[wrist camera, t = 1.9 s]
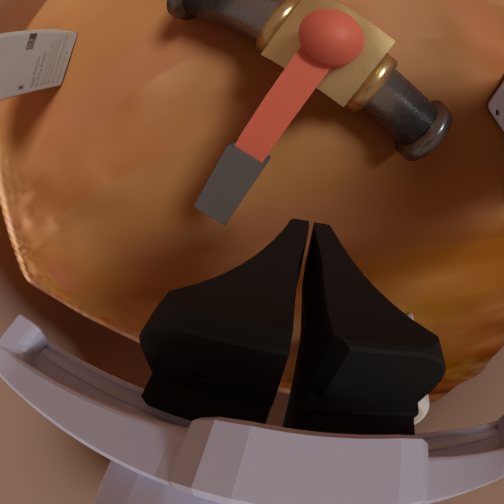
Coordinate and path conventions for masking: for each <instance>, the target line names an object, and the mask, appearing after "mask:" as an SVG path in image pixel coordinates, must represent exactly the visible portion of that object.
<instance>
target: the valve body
mask: <svg viewBox="0 0 504 504" xmlns="http://www.w3.org/2000/svg"><path fill="white" fill-rule="evenodd" d="M324 8H330V9H337V10H340V11H343V12H345V13H347V14H349V15H350V16H351V17H353V18H354V19H355V20H356V21H357V22H358V23H359V25H360V26H361V28H362V30H363V33H364V37H365V43H364V48H363V50H362V52H361V53H360V55H359V56H358V57H357V58H356V59H354V60H353V61H352V62H350V63H349V64H347V65H345V66H343V67H339V68H331V69H330V70H329V71H328V73H327V74H326V75H325V77H324V78H323V79H322V80H321V82H320V83H319V84H318V86H317V87H316V89H318V90H319V91H321V92H322V93H323V94H325V95H326V96H328V97H329V98H331V99H332V100H333V101H335V102H336V103H338V104H339V105H341V106H342V107H344V106H347V107H348V108H349V109H351V110H352V111H353V112H357V111H359V110H360V109H362V108H363V107H364V106H365V105H366V104H367V103H369V102H370V101H371V100H372V98H373V97H374V96H375V95H376V94H377V93H378V92H379V91H380V90H381V88H382V87H383V86H384V85H385V83H386V82H387V81H388V79H389V78H390V77H391V75H392V74H393V72H394V70H395V68H396V66H397V61H396V60H395V59H394V58H393V57H391V56H390V55H389V54H388V53H387V52H388V51H389V49H390V48H391V47H392V46H393V45H394V43H395V41H394V40H393V39H392V38H390V37H389V36H388V35H386V34H385V33H384V32H382V31H381V30H380V29H378V28H377V27H376V26H374V25H373V24H371V23H370V22H369V21H367V20H366V19H364V18H363V17H361V16H360V15H358V14H357V13H355V12H354V11H352V10H350V9H349V8H347V7H346V6H344V5H342V4H340V3H339V2H337V1H335V0H283V1H282V2H281V3H279V5H278V6H277V7H276V8H275V9H274V10H273V11H272V13H271V14H270V15H269V17H268V18H267V20H266V21H265V23H264V24H263V26H262V28H261V30H260V32H259V35H258V37H257V40H256V49H257V50H258V51H260V52H262V53H261V55H262V56H264V57H266V58H267V59H269V60H271V61H272V62H274V63H276V64H278V65H279V66H281V67H283V68H284V69H285V68H286V66H287V65H288V63H289V62H290V61H291V59H292V58H293V57H294V55H295V54H296V53H297V51H298V50H299V48H300V47H301V43H300V40H299V34H298V31H299V26H300V23H301V21H302V20H303V18H304V17H305V16H306V15H308V14H309V13H311V12H313V11H315V10H318V9H324Z"/></svg>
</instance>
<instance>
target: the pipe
mask: <svg viewBox="0 0 504 504" xmlns="http://www.w3.org/2000/svg"><path fill="white" fill-rule="evenodd" d="M282 1H283V0H167V9H168V12H169V13H170V14H171V15H172V16H174V17H177V18H180V19H183V20H191V19H194V18H196V17H197V16H199V17H201V18H204V19H207V20H209V21H212V22H215V23H217V24H220V25H222V26H224V27H227V28H229V29H231V30H234V31H236V32H238V33H240V34H242V35H245V36H247V37H249V38H251V39H253V40H255V41H256V40H257V37H258V35H259V32H260V30H261V28H262V26H263V24H264V23H265V21H266V20H267V18H268V17H269V15H270V14H271V13H272V11H273V10H274V9H275V8H276V7H277V6H278V5H279V3H281V2H282ZM362 109H363V110H364V111H365V112H366V113H368V114H369V115H370V116H371V117H373V118H374V119H375V120H376V121H377V122H378V123H380V124H381V125H382V126H383V127H384V128H385V129H386V130H387V131H389V132H390V133H391V134H392V135H393V136H394V137H395V138H396V142H395V148H396V150H397V151H398V152H399V153H400V154H401V155H402V156H403V157H404V158H405V159H406V160H408V161H415V160H418V159H420V158H422V157H424V156H426V155H427V154H429V153H430V152H431V151H433V150H434V149H435V148H436V147H437V146H438V145H439V144H440V143H441V141H442V140H443V139H444V138H445V136H446V134H447V133H448V131H449V129H450V126H451V123H452V114H451V112H450V111H449V110H448V109H447V107H446V106H445V105H444V104H443V103H442V102H441V101H438V100H435V101H431V102H430V101H429V100H428V99H427V98H426V97H425V96H424V95H423V94H422V93H421V92H420V91H419V90H418V89H417V88H416V87H415V86H414V85H413V84H412V83H411V82H409V81H408V80H407V79H406V78H405V77H404V76H403V75H402V74H401V73H399V72H398V71H397V70H396V69H395V70H394V72H393V74H392V75H391V77H390V78H389V79H388V81H387V82H386V83H385V85H384V86H383V87H382V88H381V90H380V91H379V92H378V93H377V94H376V95H375V96H374V97H373V98H372V100H371V101H370V102H369V103H367V104H366V105H365V106H364V107H363V108H362Z"/></svg>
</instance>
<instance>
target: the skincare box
mask: <svg viewBox="0 0 504 504" xmlns="http://www.w3.org/2000/svg"><path fill="white" fill-rule="evenodd" d="M76 37H77V32H71V31H65V30H58V29H44V30H28V31H17V32H9V33H2V34H0V101H1V100H4V99H8V98H11V97H14V96H18V95H22V94H25V93H29V92H33V91H37V90H42V89H46V88H51V87H57V86H60V85H61V84H62V81H63V78H64V74H65V71H66V68H67V65H68V62H69V58H70V55H71V52H72V49H73V46H74V43H75V40H76Z"/></svg>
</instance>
